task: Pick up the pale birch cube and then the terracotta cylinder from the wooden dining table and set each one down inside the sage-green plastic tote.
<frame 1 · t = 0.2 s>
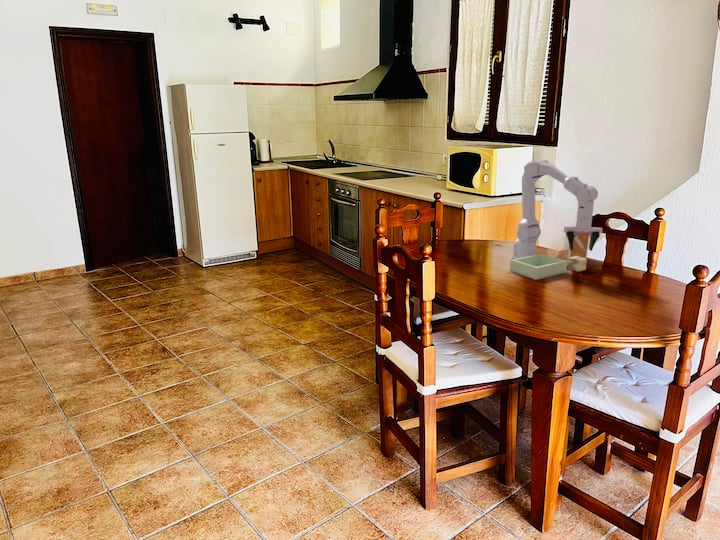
hand: (580, 249, 221), 10 cm above the table, tool pointing down, fingers open, 7 cm apart
terracotta cylinder: (561, 264, 235), on the table
birch cube: (576, 269, 229), on the table
tote: (537, 272, 225), on the table
small box: (574, 258, 246), on the table
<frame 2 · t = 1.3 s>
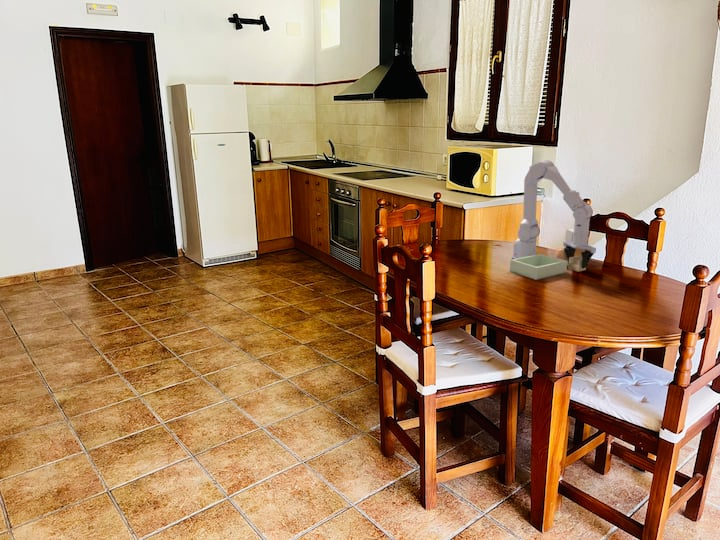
hand: (577, 265, 228), 1 cm above the table, tool pointing down, fingers open, 6 cm apart
nothing on the table moved.
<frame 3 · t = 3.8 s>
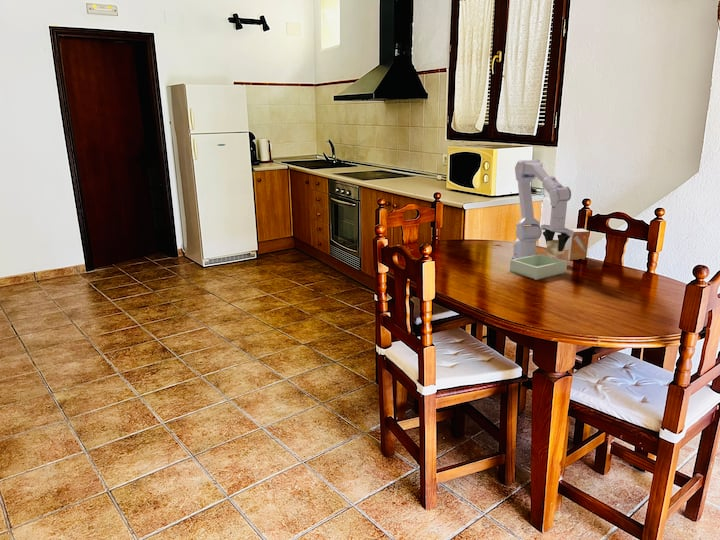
hand: (554, 249, 223), 9 cm above the table, tool pointing down, fingers closed on birch cube, 5 cm apart
birch cube: (555, 253, 224), point 8 cm above the table, touching gripper
everything else where it was.
when the fingers open (4 cm above the table, at t = 5.9 s): birch cube drops 2 cm, resting on tote.
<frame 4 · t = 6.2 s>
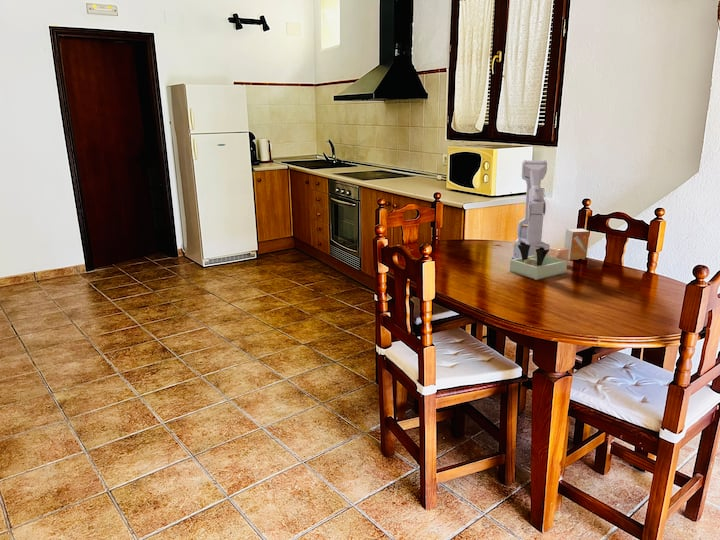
hand: (531, 263, 222), 4 cm above the table, tool pointing down, fingers open, 7 cm apart
birch cube: (531, 272, 223), point 1 cm above the table, touching tote
everything else where it was.
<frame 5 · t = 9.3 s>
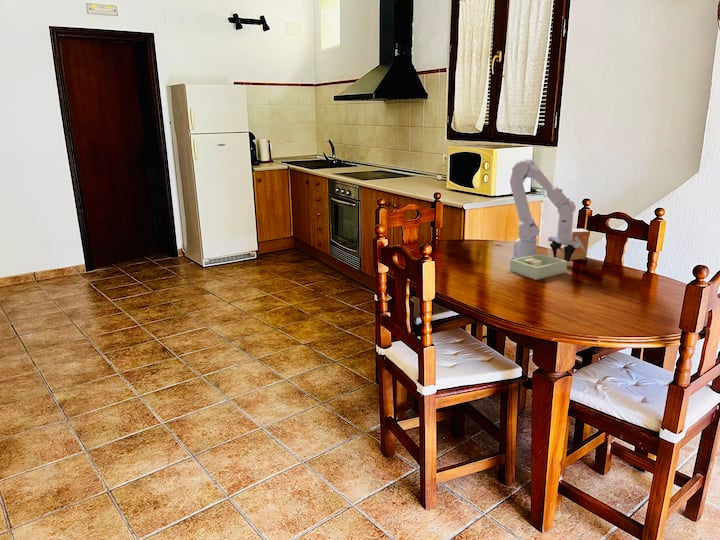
hand: (561, 260, 235), 2 cm above the table, tool pointing down, fingers closed on terracotta cylinder, 5 cm apart
terracotta cylinder: (561, 264, 235), on the table, touching gripper
everything else where it was.
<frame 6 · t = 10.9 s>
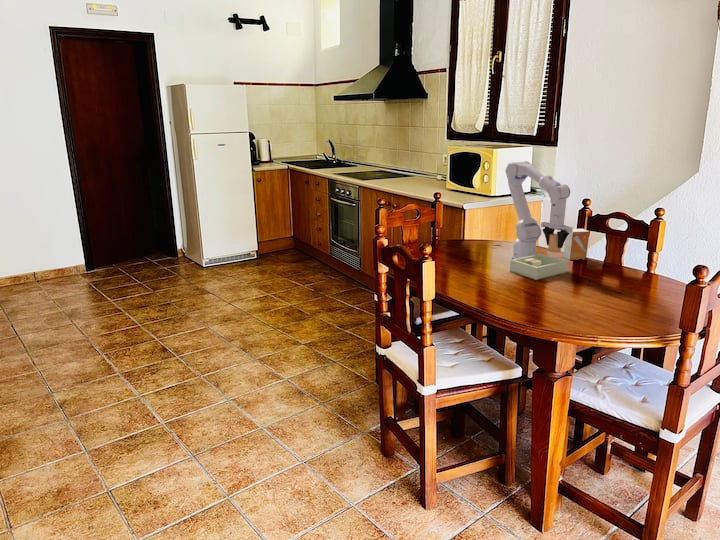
hand: (554, 246, 228), 9 cm above the table, tool pointing down, fingers closed on terracotta cylinder, 5 cm apart
terracotta cylinder: (554, 250, 229), point 7 cm above the table, touching gripper
everything else where it was.
when the fingers open (4 cm above the table, at t = 12.7 s): terracotta cylinder drops 2 cm, resting on tote.
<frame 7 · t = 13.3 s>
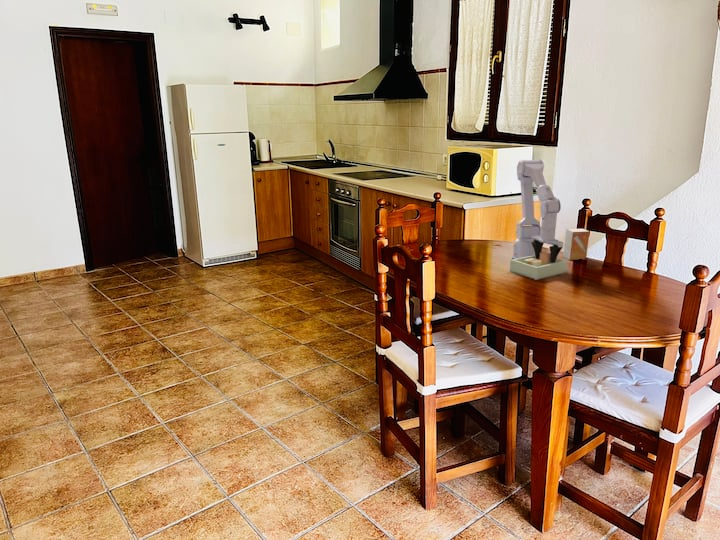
hand: (545, 260, 226), 4 cm above the table, tool pointing down, fingers open, 7 cm apart
terracotta cylinder: (544, 269, 227), point 1 cm above the table, touching tote
everything else where it was.
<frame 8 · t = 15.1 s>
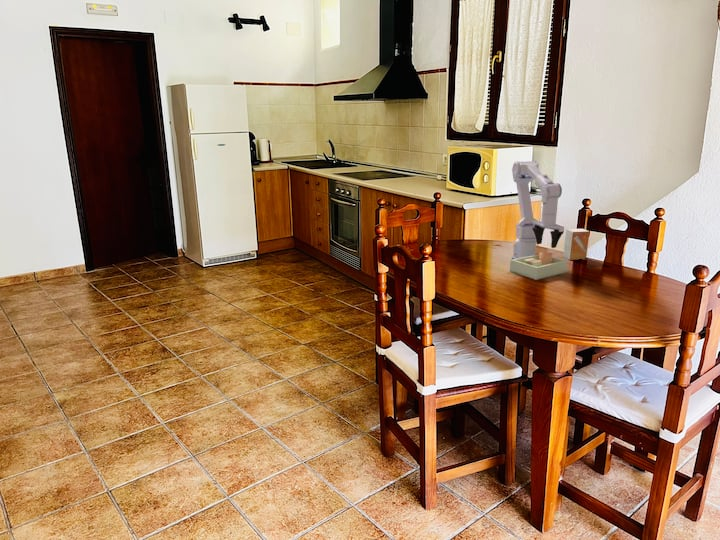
hand: (546, 245, 225), 10 cm above the table, tool pointing down, fingers open, 7 cm apart
nothing on the table moved.
at the end: birch cube inside the target area on the tote (3.7 cm from its centre), point 0.6 cm above the tote's base; terracotta cylinder inside the target area on the tote (4.1 cm from its centre), point 0.6 cm above the tote's base; terracotta cylinder tilted 1° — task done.
